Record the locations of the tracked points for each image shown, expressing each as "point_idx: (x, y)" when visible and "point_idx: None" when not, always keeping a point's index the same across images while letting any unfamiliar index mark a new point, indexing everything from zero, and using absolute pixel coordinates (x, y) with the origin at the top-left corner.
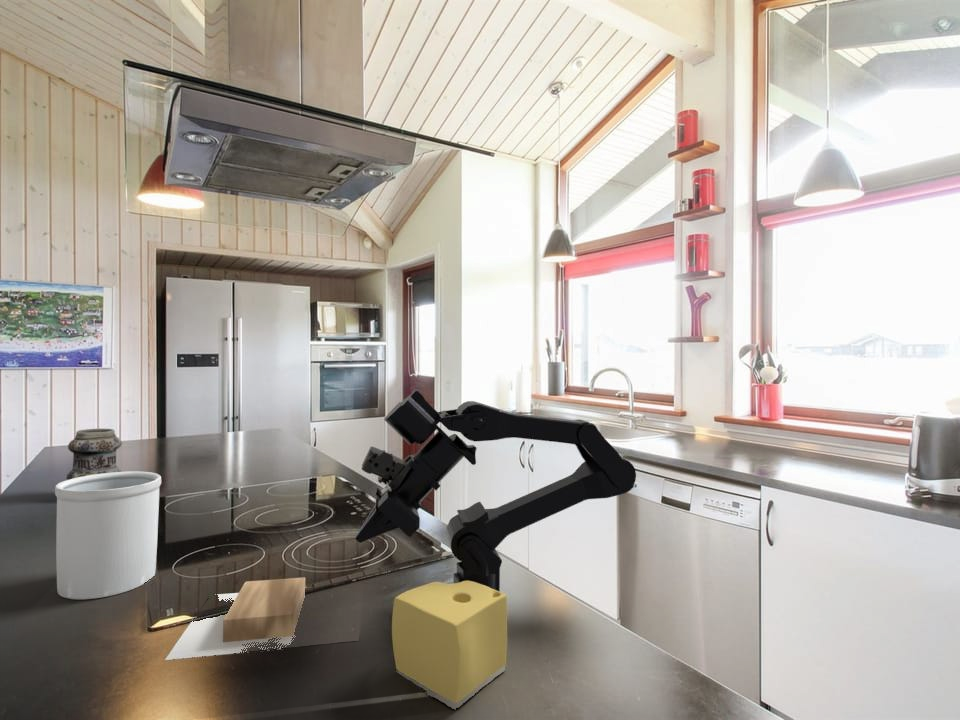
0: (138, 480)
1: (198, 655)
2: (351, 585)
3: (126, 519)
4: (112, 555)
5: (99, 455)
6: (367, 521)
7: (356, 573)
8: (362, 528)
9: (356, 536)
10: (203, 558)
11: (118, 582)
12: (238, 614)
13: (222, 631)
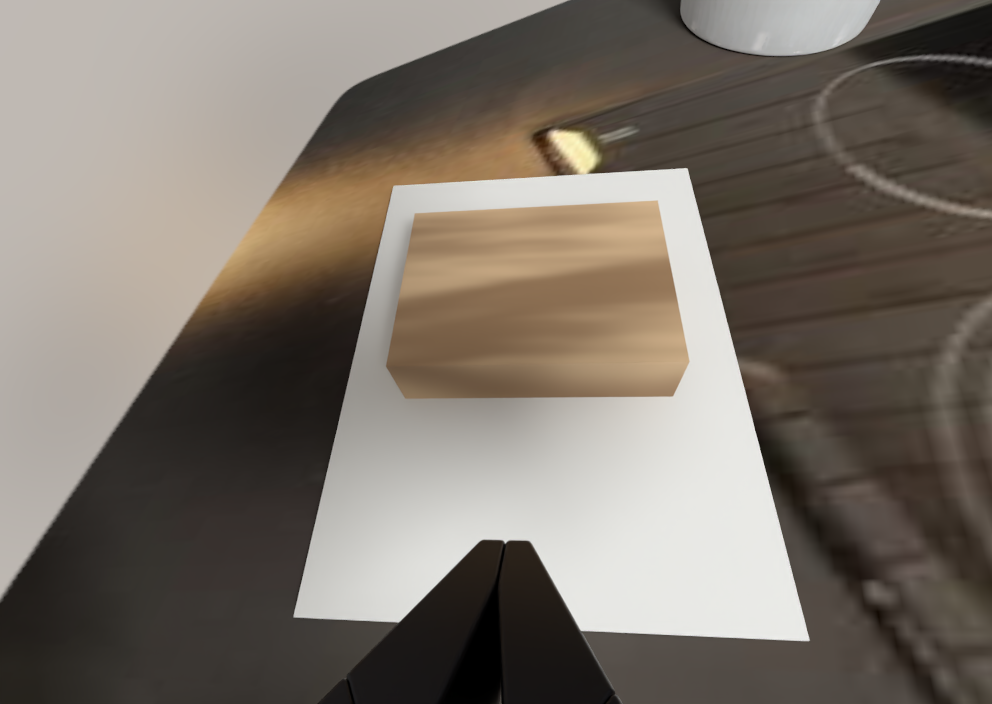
0: None
1: (387, 228)
2: (809, 578)
3: None
4: None
5: None
6: (377, 673)
7: (965, 604)
8: (424, 600)
9: (479, 545)
10: (958, 93)
11: (713, 14)
12: (435, 235)
13: None
